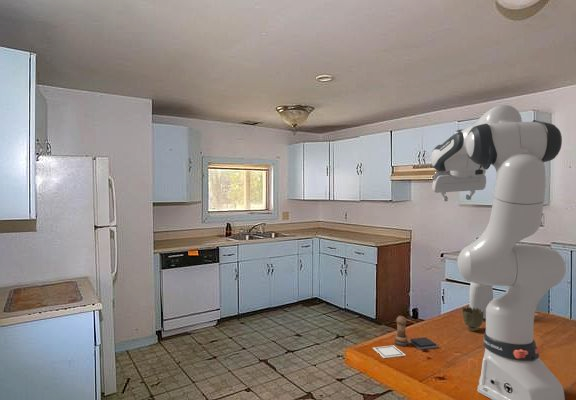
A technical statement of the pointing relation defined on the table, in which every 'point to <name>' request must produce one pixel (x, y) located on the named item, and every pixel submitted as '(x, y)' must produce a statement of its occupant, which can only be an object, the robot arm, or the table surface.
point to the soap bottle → (480, 296)
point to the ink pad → (423, 343)
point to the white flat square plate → (389, 351)
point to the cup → (473, 318)
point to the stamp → (401, 332)
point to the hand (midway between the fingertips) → (456, 200)
